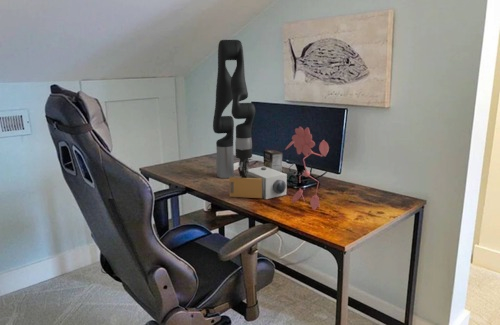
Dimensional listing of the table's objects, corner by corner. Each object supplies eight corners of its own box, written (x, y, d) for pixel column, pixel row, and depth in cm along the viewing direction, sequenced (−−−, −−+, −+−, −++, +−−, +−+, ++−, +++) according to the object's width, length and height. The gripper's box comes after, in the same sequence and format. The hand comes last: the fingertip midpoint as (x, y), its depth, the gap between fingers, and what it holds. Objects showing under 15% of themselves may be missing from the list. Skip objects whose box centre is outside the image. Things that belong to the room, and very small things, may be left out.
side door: (229, 196, 176) (228, 178, 174) (230, 195, 178) (229, 177, 176) (263, 199, 173) (263, 179, 171) (264, 197, 175) (264, 178, 173)
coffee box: (262, 179, 205) (263, 150, 202) (273, 178, 208) (273, 149, 204) (271, 184, 198) (271, 153, 194) (282, 182, 200) (282, 152, 197)
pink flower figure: (293, 196, 178) (294, 121, 170) (335, 212, 158) (338, 128, 149) (267, 203, 170) (266, 125, 161) (308, 221, 149) (309, 133, 141)
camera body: (244, 189, 189) (244, 168, 186) (264, 185, 195) (264, 164, 193) (268, 200, 173) (268, 177, 170) (289, 195, 179) (289, 173, 177)
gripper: (239, 144, 181) (239, 179, 185) (232, 149, 168) (232, 187, 172) (254, 144, 180) (254, 180, 184) (248, 150, 167) (249, 188, 171)
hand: (244, 183), depth 178 cm, fingers closed
